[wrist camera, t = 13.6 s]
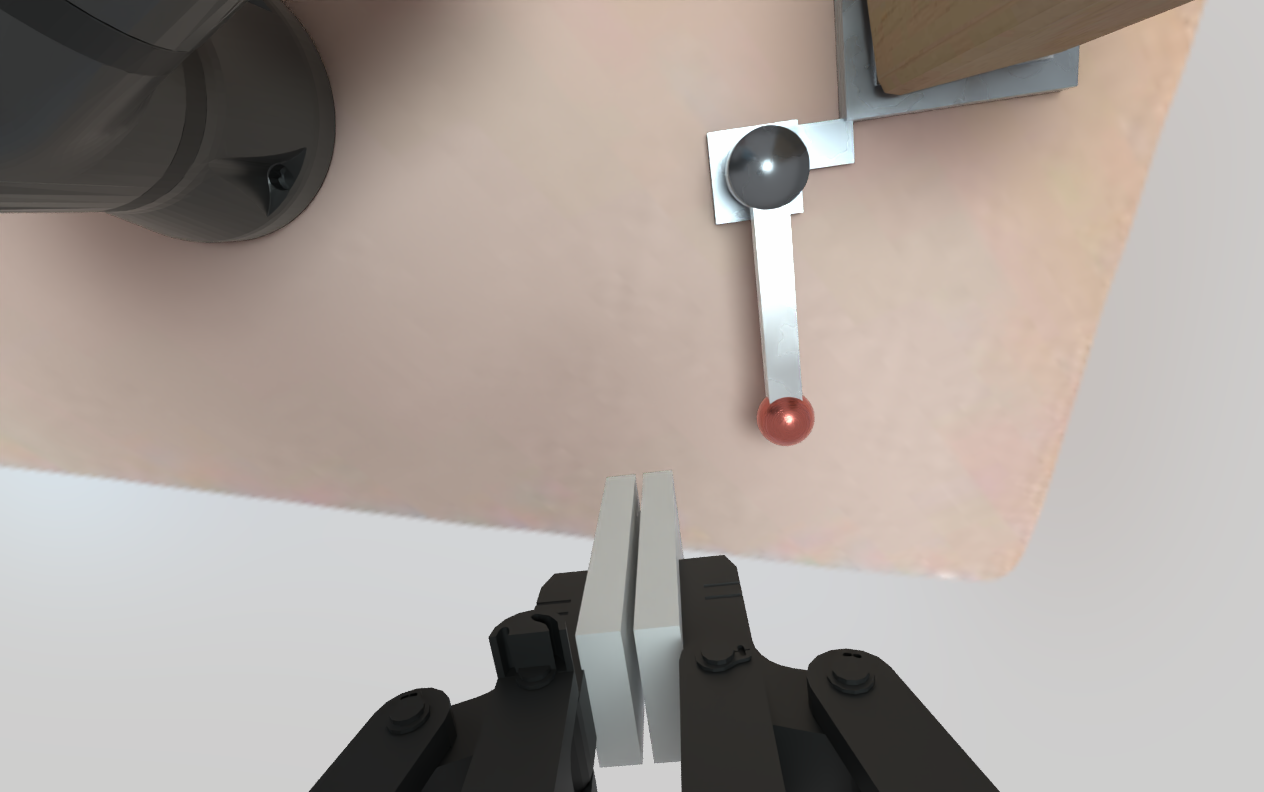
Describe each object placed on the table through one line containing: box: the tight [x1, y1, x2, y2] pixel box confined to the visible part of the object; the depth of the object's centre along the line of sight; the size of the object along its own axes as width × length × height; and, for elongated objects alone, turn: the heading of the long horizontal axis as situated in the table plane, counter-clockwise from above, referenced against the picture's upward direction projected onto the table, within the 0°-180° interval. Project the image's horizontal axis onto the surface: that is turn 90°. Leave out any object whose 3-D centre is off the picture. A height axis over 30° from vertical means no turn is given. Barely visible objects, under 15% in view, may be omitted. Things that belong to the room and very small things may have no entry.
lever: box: [725, 125, 814, 446], centre depth 35 cm, size 4×17×3 cm, turn 8°
